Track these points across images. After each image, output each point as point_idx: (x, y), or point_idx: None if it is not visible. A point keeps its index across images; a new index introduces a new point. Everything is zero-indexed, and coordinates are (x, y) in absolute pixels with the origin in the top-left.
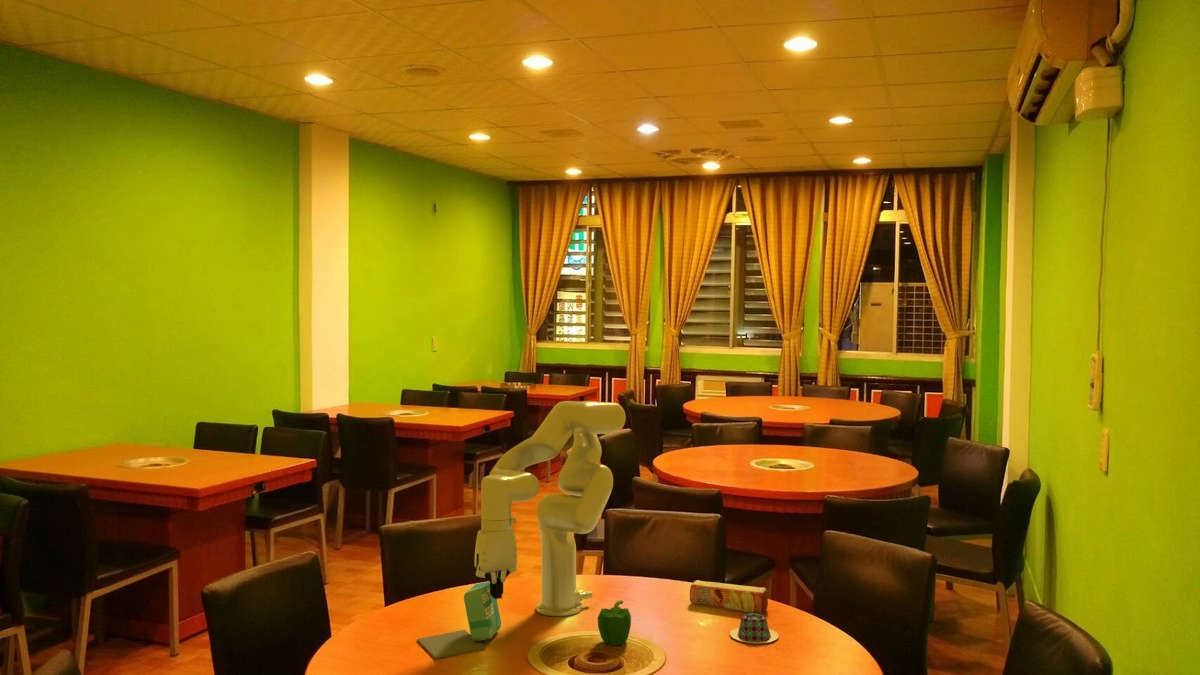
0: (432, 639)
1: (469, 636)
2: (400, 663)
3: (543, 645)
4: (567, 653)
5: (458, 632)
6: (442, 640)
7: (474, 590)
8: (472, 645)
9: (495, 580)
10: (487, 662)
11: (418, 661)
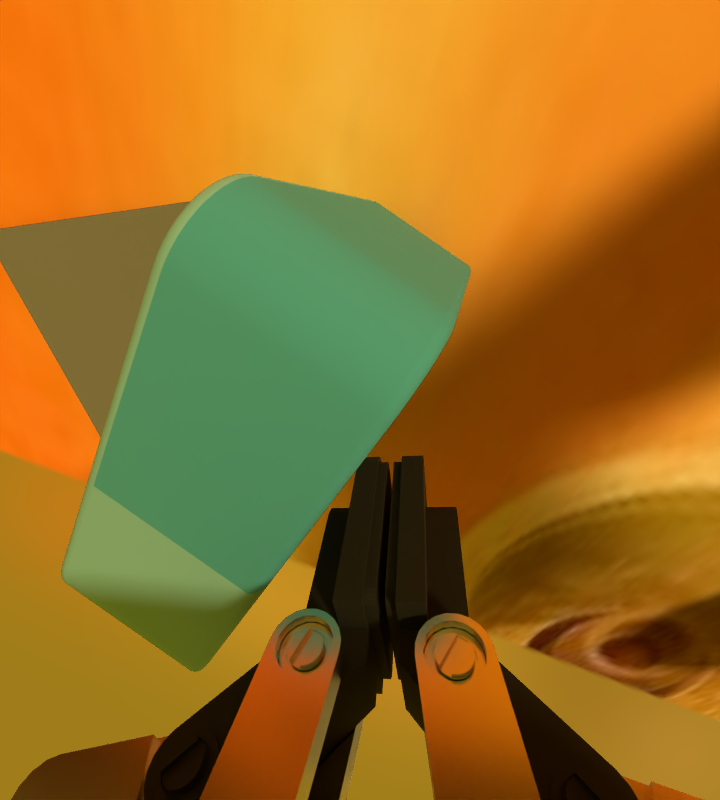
0: (70, 278)
1: None
2: (4, 439)
3: (548, 517)
4: (580, 596)
5: None
6: (124, 313)
7: (139, 606)
8: None
9: (350, 723)
10: (299, 545)
11: (64, 450)
